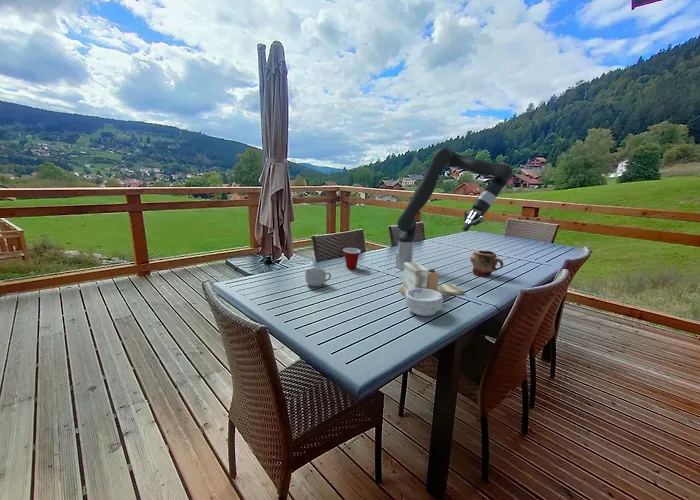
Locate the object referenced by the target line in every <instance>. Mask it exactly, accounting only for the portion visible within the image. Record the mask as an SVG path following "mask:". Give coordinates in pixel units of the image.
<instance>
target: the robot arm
mask: <svg viewBox="0 0 700 500" xmlns="http://www.w3.org/2000/svg"><path fill="white" fill-rule="evenodd" d="M446 166H447V167H452V168H453V167H454V168H459V169H462V170H465V171H467V172H470V173H473V174H476V175H478V176H481V177H493V179H492V180H491V181H490V182H488V184H487V185H486V187H485V188H484V189H483V191H482V192H481V193H480V194H479V195H478V197H477V198H476V200H475V201H474V203H473V204H472V208H471V209H470V210H469V211H464V214H463V222H465V223H464V225H463V226H462V228H461V229H462V230H463V231H464V232H468V231H469V229H470V228H471V227H472V226H474V227H475V226H477V225H479V224H481V223H483V222H484V221H485V219H484V215H485V214H486V213H487V212H488V211H489V209H490V208H491V206H492V205H493V204H494V202H495V200H496V199H497V197H498V196H499V194H500V193H501V191H502V190H503V189H504V188H505V186H506V185H507V184H508V183H509V181H510V180H511V178H512V175H513V171H514V170H513V168H512V166H510V165H507V164H504V163H495V162H489V161H486V160H481V159H478V158H472V157H468V156H464V155H461V154H458V153H457V152H454V151H453V150H451V149H449V148H446V147H442V148H439V149H437V150H436V151H435V153H434V154H433V156H432V159H431V162H430V164H429V166H428V168H427V171H426V172H425V174H423V176H422V178H421V180H420V181H419V183H418V184H417V187H416V189H415V190H414V192H413V194H412V196H411V198H410V200H409V202H408V204H407V205H406V208H405V209H404V211H403V212H402V213H401V215H400V216H399V218H398V220H397V224H396V225H397V228H398V229H399V230H400V234H399V235H398V241H397V242H398V243H397V252H396V254H395V255H396V256H395V268H397V269H398V270H403V271H404V262H413V255H414V241H415V237H416V231H417V230H416V229H417V219H416V216H417V214H418V213H419V212H420V211H421V210H422V208H423V207H424V206H425V205H426V204H427V203H428V201H429V200H430V198H431V196H432V195H433V194H434V191H435V189H436V187H437V183H438V180H439V177H440V175H441V174H442V172H443V171H444V169H445V168H446Z"/></svg>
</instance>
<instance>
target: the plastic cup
mask: <svg viewBox="0 0 700 500" xmlns="http://www.w3.org/2000/svg"><path fill="white" fill-rule="evenodd" d="M342 250H343V254H344V260H345V266H346V269H347V268H348V269H347V270H350V269H353V270H356V269H357V265H358V262H359V261H358V260H359V256H360V253H361V249H359V248H355V247H345V248H343V249H342ZM355 268H356V269H355Z"/></svg>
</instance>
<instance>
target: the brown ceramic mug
mask: <svg viewBox="0 0 700 500" xmlns="http://www.w3.org/2000/svg"><path fill="white" fill-rule="evenodd" d="M469 257H470V258H469V259H470V262H471V263H472V265H473V267H472V274H473V275H474V276H477V277H481V278H488V277H490V276H492V273H494V272H497V271H499V270H500V269H503V267H504V262H503V260H502V258H499V257H497V254H496V253H495V252H493V251H491V250H480V249H479V250H476V251H473V253H472V255H470V256H469ZM498 263H499V264H500V266H499V267H498V268H497V267H496V266H497V265H498Z"/></svg>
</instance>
